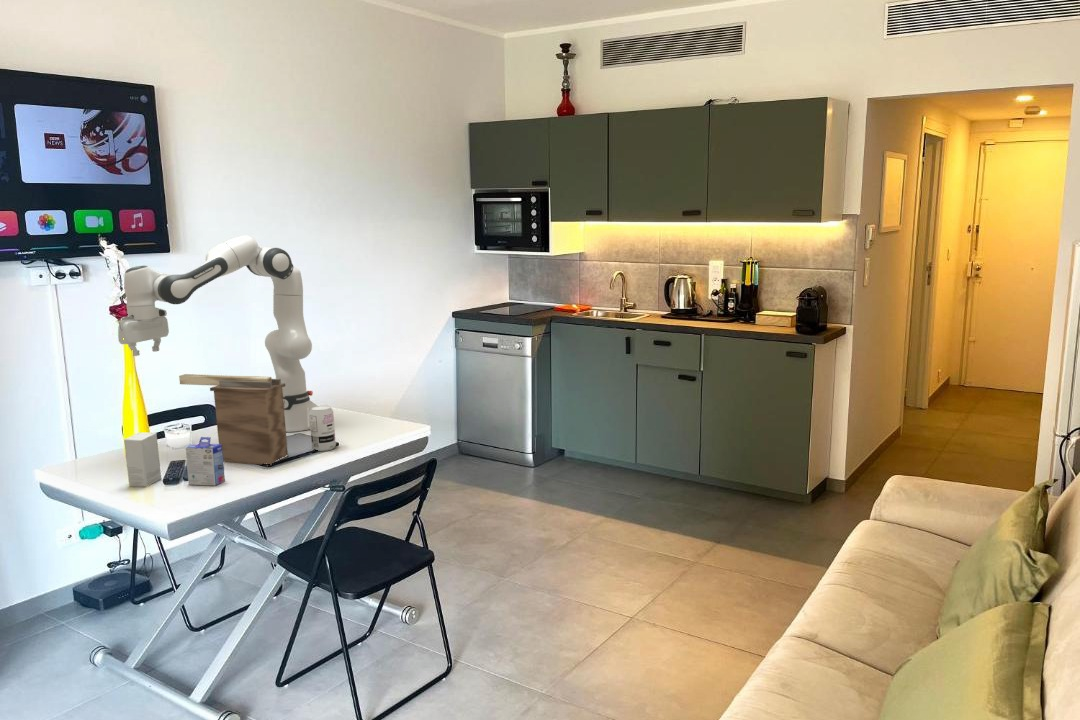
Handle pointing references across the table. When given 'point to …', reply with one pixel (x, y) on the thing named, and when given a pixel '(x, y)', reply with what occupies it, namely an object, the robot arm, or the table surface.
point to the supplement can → (322, 428)
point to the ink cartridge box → (205, 463)
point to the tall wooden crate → (251, 421)
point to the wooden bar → (217, 379)
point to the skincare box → (142, 459)
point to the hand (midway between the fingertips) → (146, 353)
